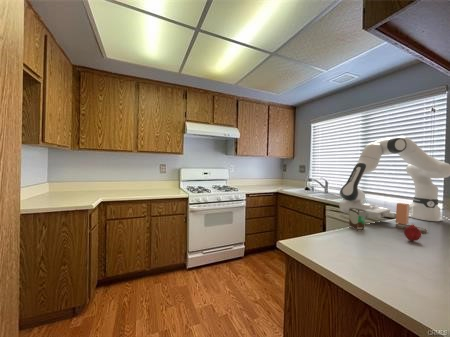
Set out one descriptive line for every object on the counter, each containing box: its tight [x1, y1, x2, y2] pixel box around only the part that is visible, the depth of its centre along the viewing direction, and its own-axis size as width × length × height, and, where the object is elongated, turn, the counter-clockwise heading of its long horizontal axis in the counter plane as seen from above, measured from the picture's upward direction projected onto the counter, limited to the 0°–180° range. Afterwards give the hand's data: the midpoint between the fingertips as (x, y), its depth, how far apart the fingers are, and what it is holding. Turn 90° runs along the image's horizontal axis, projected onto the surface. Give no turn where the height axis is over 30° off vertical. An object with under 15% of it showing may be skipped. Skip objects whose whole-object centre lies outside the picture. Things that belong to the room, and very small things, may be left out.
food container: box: [348, 207, 367, 231], centre depth 110 cm, size 12×6×10 cm, turn 171°
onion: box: [403, 223, 422, 242], centre depth 93 cm, size 6×6×8 cm
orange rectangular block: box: [395, 202, 410, 225], centre depth 114 cm, size 4×4×12 cm
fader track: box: [394, 223, 428, 234], centre depth 111 cm, size 12×5×2 cm, turn 35°
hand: (394, 215), depth 117 cm, fingers closed
